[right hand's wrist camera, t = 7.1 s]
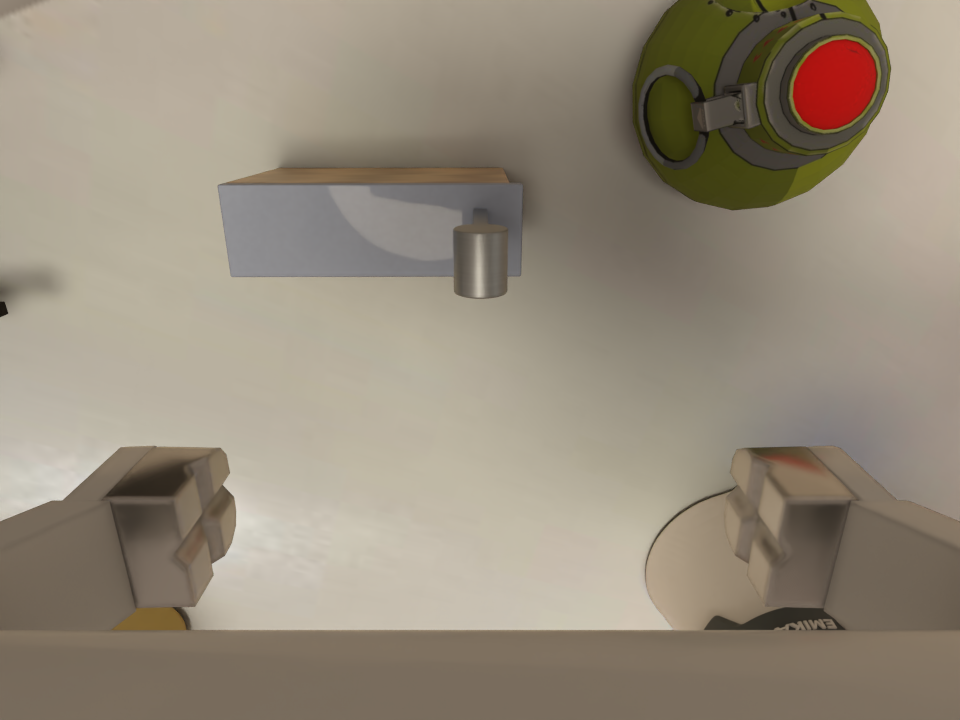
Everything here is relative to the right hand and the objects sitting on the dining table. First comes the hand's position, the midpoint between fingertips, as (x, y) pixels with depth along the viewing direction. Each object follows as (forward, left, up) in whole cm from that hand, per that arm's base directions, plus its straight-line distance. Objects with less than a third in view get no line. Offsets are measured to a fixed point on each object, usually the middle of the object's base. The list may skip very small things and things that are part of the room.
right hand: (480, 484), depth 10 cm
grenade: (-12, -9, -33) cm, 36 cm away
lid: (+5, +1, -24) cm, 25 cm away
